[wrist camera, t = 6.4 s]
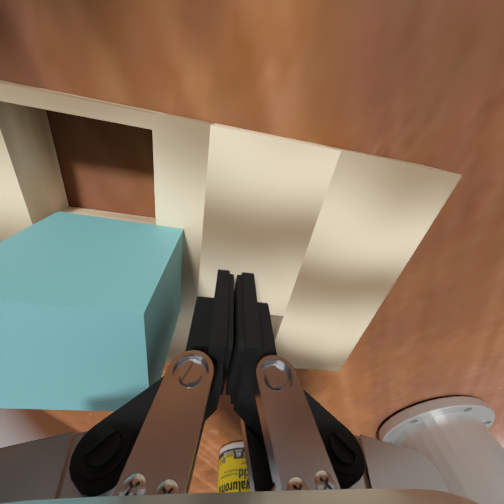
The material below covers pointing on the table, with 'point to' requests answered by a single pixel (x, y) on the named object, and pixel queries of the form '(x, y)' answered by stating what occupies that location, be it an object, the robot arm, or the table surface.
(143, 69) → the table surface
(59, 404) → the block
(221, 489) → the supplement bottle
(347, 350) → the box
